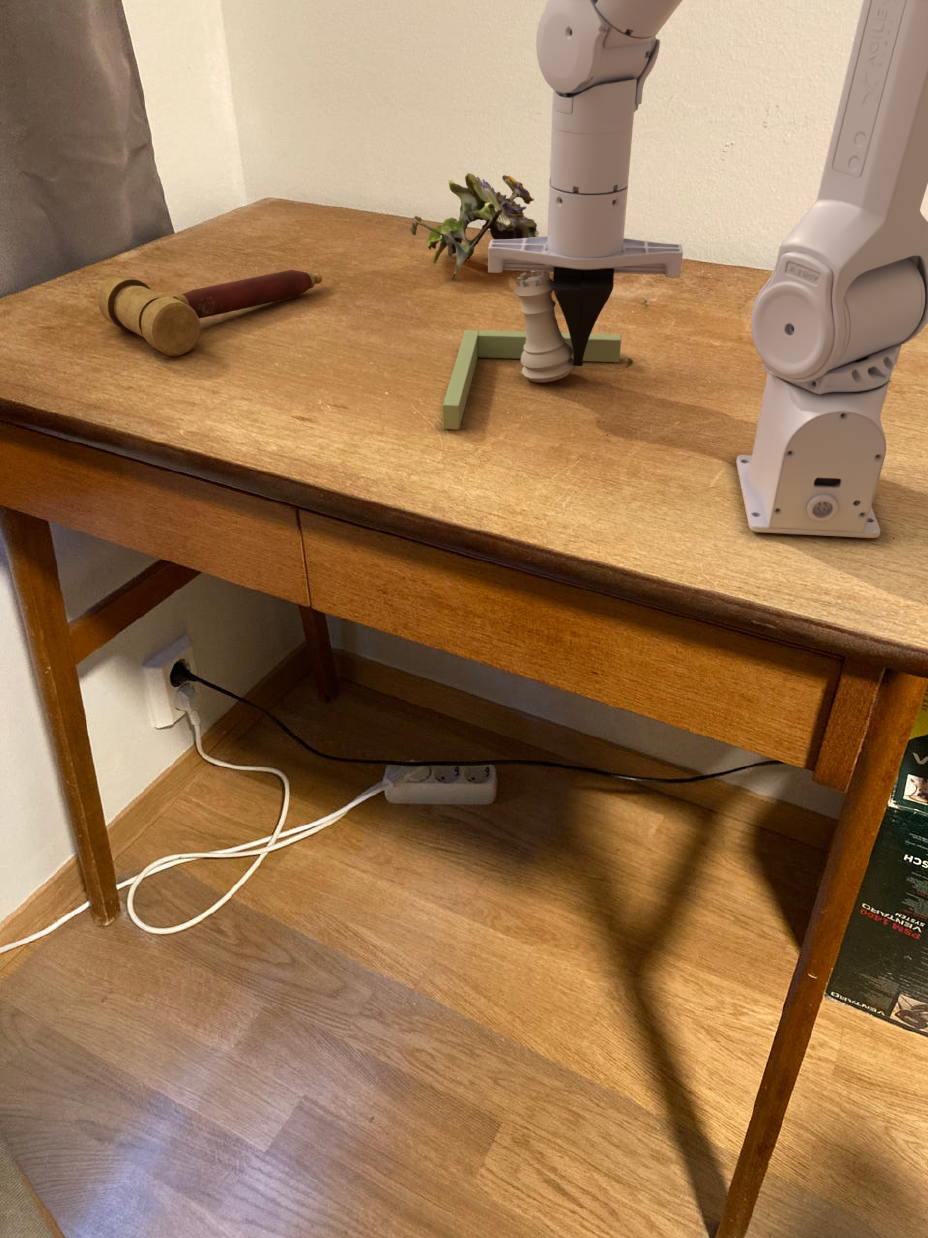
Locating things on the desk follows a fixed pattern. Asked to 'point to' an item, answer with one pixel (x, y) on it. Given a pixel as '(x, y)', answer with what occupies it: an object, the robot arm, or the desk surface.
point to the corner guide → (506, 347)
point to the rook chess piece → (542, 331)
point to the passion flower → (481, 218)
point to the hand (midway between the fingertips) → (577, 361)
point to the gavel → (191, 305)
